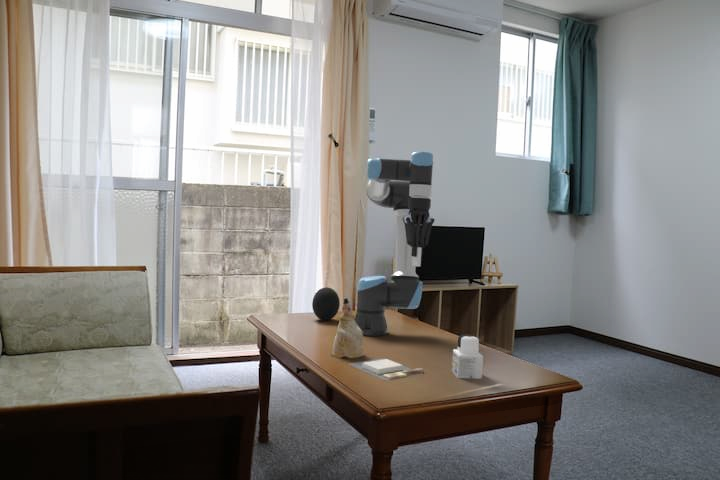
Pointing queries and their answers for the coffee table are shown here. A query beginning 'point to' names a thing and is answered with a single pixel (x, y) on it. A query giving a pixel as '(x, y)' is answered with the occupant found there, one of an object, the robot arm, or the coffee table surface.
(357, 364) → the mat
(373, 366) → the tile
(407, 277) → the robot arm
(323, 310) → the decorative egg
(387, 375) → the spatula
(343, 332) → the figurine
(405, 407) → the coffee table surface
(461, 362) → the container
